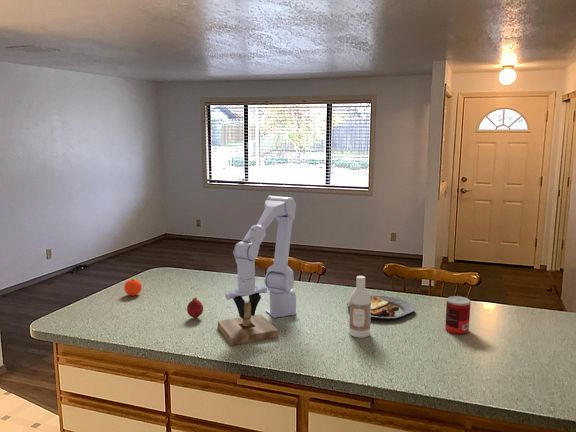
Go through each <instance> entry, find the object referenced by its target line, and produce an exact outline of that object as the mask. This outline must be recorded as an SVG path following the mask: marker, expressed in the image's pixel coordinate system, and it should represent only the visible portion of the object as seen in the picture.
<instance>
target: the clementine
mask: <svg viewBox="0 0 576 432" xmlns="http://www.w3.org/2000/svg"><path fill="white" fill-rule="evenodd" d="M142 285H143V284H142V282H141V281H139V280H138V278H130V279H128V280H127V281H126V282H125V283H124V291H125V293H126V294H127V295H129V296H138V295H139V294H140V293H141V291H142Z"/></svg>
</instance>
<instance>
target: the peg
mask: <svg viewBox="0 0 576 432" xmlns="http://www.w3.org/2000/svg"><path fill="white" fill-rule="evenodd" d="M251 317H252V315H251V301H249V300H246V299H245V303H244V318H242V320H243V326H250V325H251Z"/></svg>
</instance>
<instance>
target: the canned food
mask: <svg viewBox="0 0 576 432" xmlns="http://www.w3.org/2000/svg"><path fill="white" fill-rule="evenodd" d="M445 306H446V307H445V325H444V327H445V330H446V331H447V333H449V334H452V335H458V336H459V335H466V334H467V333H468V332H469V330H470V316H471V315H470V314H471V299H469V298H468V297H465V296H459V295H455V296H454V295H452V296H451V295H450V296H448V297H447V298H446V305H445Z"/></svg>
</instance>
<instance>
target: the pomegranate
mask: <svg viewBox="0 0 576 432" xmlns="http://www.w3.org/2000/svg"><path fill="white" fill-rule="evenodd" d="M186 312H187V314H188V315H189V317H191V318H194V319H195V318H196V319H197V318H199V317H200V316H201V315H202V313H203V312H204V305H203V303H202V302H201V301H200V300H199V299H198V298H197V297H196V296H194V297H193V298H192V300H191V301H189V302H188V304H187V307H186Z"/></svg>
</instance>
